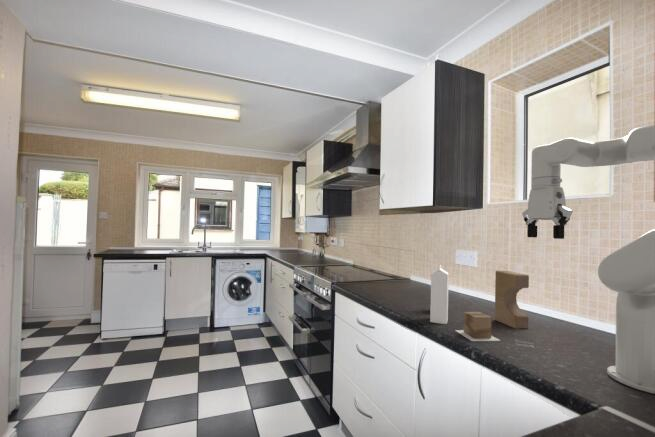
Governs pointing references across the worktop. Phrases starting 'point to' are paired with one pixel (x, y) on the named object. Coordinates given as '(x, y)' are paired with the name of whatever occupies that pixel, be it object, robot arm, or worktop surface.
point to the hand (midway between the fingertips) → (544, 237)
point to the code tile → (524, 345)
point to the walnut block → (477, 325)
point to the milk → (439, 296)
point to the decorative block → (510, 298)
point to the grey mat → (477, 339)
